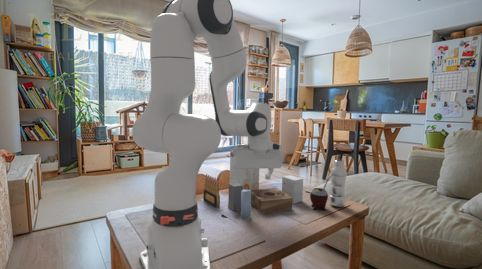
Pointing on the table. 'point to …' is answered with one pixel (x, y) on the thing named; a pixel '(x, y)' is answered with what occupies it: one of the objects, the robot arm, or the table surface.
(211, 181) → the ammunition clip
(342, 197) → the plastic bottle
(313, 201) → the mate gourd
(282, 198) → the socket block
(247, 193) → the blue-gray rectangular block
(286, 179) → the small box
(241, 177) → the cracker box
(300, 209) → the table surface
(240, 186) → the square peg
